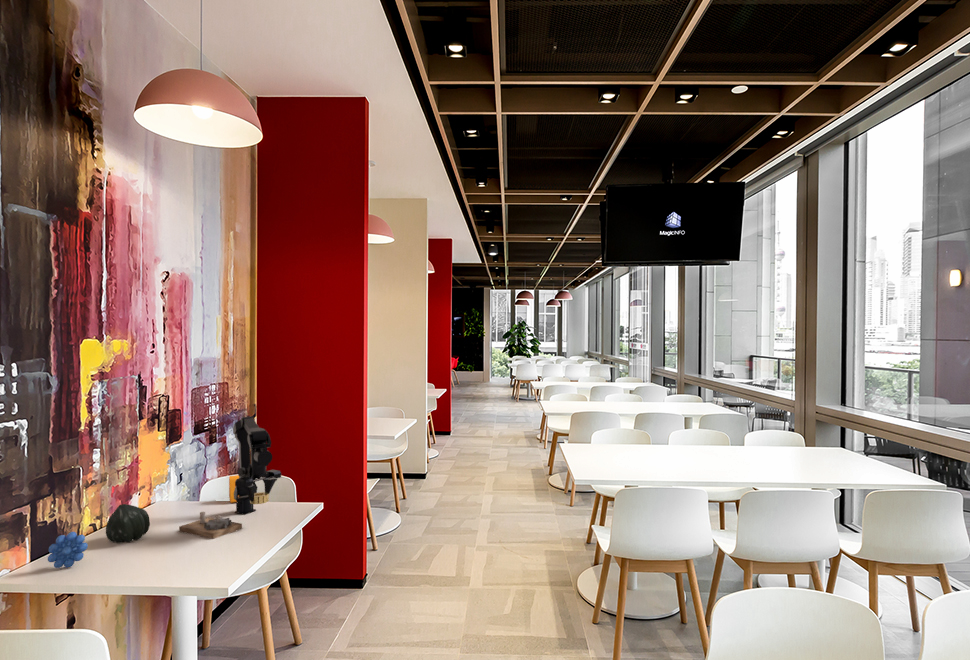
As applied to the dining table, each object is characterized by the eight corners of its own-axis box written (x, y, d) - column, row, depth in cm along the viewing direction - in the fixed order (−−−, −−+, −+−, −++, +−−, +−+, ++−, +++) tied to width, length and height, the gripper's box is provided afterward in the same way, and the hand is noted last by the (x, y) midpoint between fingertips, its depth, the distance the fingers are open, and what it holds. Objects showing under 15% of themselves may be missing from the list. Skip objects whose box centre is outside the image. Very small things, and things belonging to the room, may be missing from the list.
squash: (161, 516, 232) (132, 492, 229) (152, 529, 218) (121, 503, 215) (132, 543, 229) (102, 518, 226) (121, 558, 215) (89, 532, 211)
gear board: (208, 522, 242) (208, 506, 242) (241, 528, 232) (241, 512, 232) (179, 531, 230) (179, 515, 230) (213, 538, 220) (213, 521, 220)
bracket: (247, 501, 272) (246, 476, 272) (230, 504, 269) (230, 478, 269) (245, 496, 281) (244, 472, 282) (229, 498, 278) (228, 474, 278)
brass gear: (260, 498, 239) (260, 491, 239) (272, 500, 236) (272, 493, 236) (246, 503, 233) (246, 495, 233) (258, 505, 230) (258, 497, 230)
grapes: (92, 560, 201) (91, 526, 201) (85, 567, 194) (84, 532, 194) (53, 565, 197) (52, 530, 197) (44, 572, 191) (44, 536, 191)
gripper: (263, 455, 247) (264, 491, 247) (225, 464, 230) (226, 503, 230) (281, 457, 242) (282, 494, 241) (244, 466, 225) (245, 506, 225)
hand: (259, 499), depth 235 cm, fingers closed on brass gear, 7 cm apart
